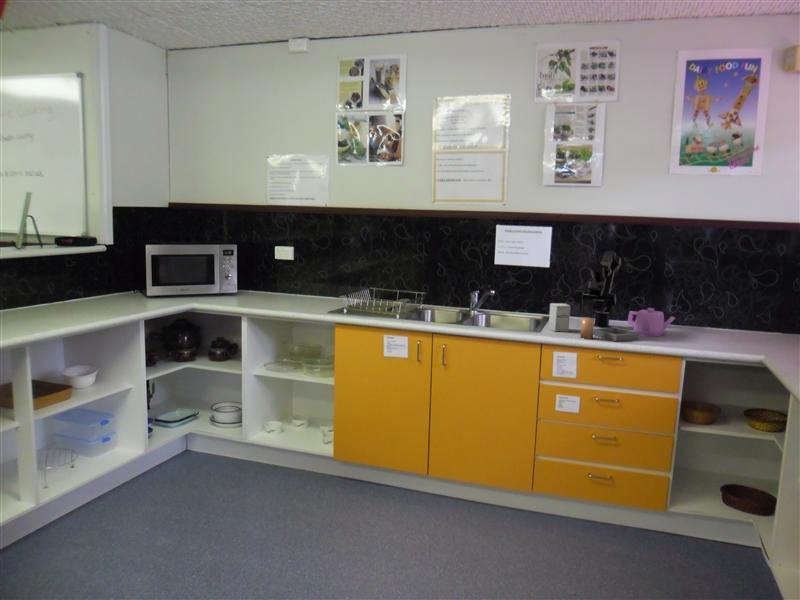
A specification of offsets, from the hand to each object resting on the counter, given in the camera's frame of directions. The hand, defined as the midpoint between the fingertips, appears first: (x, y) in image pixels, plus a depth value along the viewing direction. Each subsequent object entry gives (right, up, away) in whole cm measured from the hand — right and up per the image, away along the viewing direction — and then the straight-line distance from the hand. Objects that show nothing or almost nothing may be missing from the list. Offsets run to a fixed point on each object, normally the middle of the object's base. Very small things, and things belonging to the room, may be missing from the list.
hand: (590, 312), depth 288 cm
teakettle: (+32, -11, +11) cm, 35 cm away
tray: (+12, -12, 0) cm, 16 cm away
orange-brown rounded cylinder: (-3, -12, -3) cm, 12 cm away
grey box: (-11, -9, +14) cm, 20 cm away
